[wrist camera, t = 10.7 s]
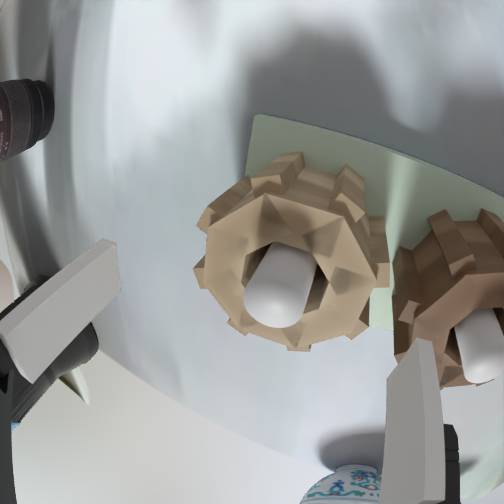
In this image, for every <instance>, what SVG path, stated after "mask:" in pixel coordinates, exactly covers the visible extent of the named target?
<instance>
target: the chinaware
mask: <svg viewBox="0 0 504 504" xmlns="http://www.w3.org/2000/svg"><path fill="white" fill-rule="evenodd" d="M380 486H381V477H380V476H379V475H377V470H376V469H375V468H373V467H370V466H366V465H356V464H355V465H345V466H341V467H339V468H337V469H336V471H335V473H333V474H330V475H328V476H326V477H324V478H323V479H321V480H320V481H318V482H317V483H316V484H315V485H313V486H312V487H311V488H310V489H309V490H308V492H307V493H306V494H305V496H304V497H303V499H302V500H301V502H300V504H378V501H379V494H380Z"/></svg>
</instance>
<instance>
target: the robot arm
mask: <svg viewBox="0 0 504 504" xmlns="http://www.w3.org/2000/svg"><path fill="white" fill-rule="evenodd" d="M120 292H121V286H120V277H119V269H118V259H117V249H116V243H115V242H112V241H110V240H107V239H104V238H103V239H102V240H100V241H99V242H98V243H96V244H95V245H94V246H92V247H91V248H89V249H88V250H87V251H85V252H84V253H83V254H81V255H80V256H79V257H77V258H76V259H75V260H73V261H72V262H71V263H69V264H68V265H67V266H65V267H64V268H63V269H62V270H60V271H59V272H58V273H57V274H55V275H54V276H53V277H51V278H50V279H49V278H47V277H45V276H37V277H36V278H35V279H33V280H32V281H31V282H29V283H28V284H27V285H26V287H25V289H24V291H23V293H22V295H21V296H20V297H18V298H17V299H16V300H15V301H14V303H11V304H10V305H9V306H8V307H7V308H5V309H4V310H3V311H2V312H1V313H0V504H17V501H16V494H15V487H14V476H13V464H12V446H11V445H12V444H11V443H12V442H11V431H12V430H13V429H14V428H15V427H16V426H18V425H19V424H20V423H21V420H22V419H23V418H24V417H25V415H26V414H27V413H28V412H29V411H30V409H31V408H32V407H33V406H34V405H35V404H36V402H37V401H38V400H39V399H40V397H42V395H43V394H44V393H45V392H46V391H47V389H48V388H49V387H50V386H51V385H52V384H53V382H54V381H55V380H56V379H57V378H58V377H60V376H61V375H63V374H65V373H67V372H69V371H71V370H73V369H74V368H76V367H78V366H80V365H81V364H84V363H86V362H88V361H89V360H90V359H91V358H92V357H93V356H94V355H95V354H96V352H97V351H98V341H97V337H96V334H95V332H94V330H93V328H92V326H91V324H90V322H91V321H92V320H93V319H94V318H95V317H96V316H97V315H98V314H99V312H100V311H101V310H102V309H103V308H104V307H105V306H106V305H107V304H108V303H109V302H110V301H112V300H113V299H114V298H115V297H116V296H117V295H118V294H119V293H120ZM458 450H459V448H458V437H457V434H456V432H455V429H454V427H453V425H449V424H443V415H442V405H441V396H440V388H439V381H438V374H437V367H436V361H435V355H434V350H433V344H432V341H428V340H424V339H420V338H416V339H415V341H414V342H413V344H412V345H411V346H410V348H409V349H408V351H407V352H406V354H405V355H404V357H403V358H402V359H401V361H400V362H399V363H398V365H397V366H396V368H395V369H394V370H393V372H392V373H391V374H390V376H389V377H388V378H387V399H386V428H385V444H384V457H383V468H382V477H381V486H380V494H379V501H378V504H461V503H460V467H459V463H458V461H459V452H458Z"/></svg>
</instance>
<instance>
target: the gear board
mask: <svg viewBox="0 0 504 504" xmlns="http://www.w3.org/2000/svg"><path fill="white" fill-rule="evenodd" d="M302 151H303V155H304V161H305V166H307V167H311V168H314V169H318V170H321V171H325V172H328V173H331V174H335V175H337V174H338V173H339V172H340V171H341V170H342V168H343V167H344V166H345V165H346V164H347V165H348V166H349V167H351V168H352V169H353V170H354V171H356V172H357V173H358V174H359V175H361V176H362V177H363V178H364V193H365V210H366V212H367V214H368V216H383V218H384V224H385V230H386V237H387V244H388V251H389V258H390V287H388V288H373V290H372V292H371V294H370V310H369V325H373V326H376V327H379V328H383V329H386V330H390V331H393V311H392V297H391V296H393V295H395V294H396V293H395V283H394V275H393V267H392V262H393V260H394V258H395V255H396V253H397V251H398V248H399V246H401V247H403V248H406V249H409V250H413V249H414V248H415V247H416V246H417V245H418V244H419V243H420V242H421V241H422V240H423V239H424V238H425V237H426V236H427V235H428V234H429V233H430V231H431V230H432V228H431V226H430V223H429V221H428V218H427V217H429V216H431V215H434V214H436V213H438V212H440V211H442V210H444V209H446V211H447V212H448V214H449V215H450V217H451V218H452V220H453V221H476V220H477V218H478V215H479V213H480V210H481V208H483V209H485V210H487V211H489V212H491V213H493V214H495V215H497V216H498V217H499V218H500V219H501V220H502V221H503V223H504V197H502V196H500V195H498V194H496V193H494V192H492V191H490V190H488V189H486V188H484V187H482V186H480V185H478V184H476V183H474V182H472V181H470V180H467V179H465V178H463V177H461V176H459V175H456V174H454V173H452V172H449V171H447V170H445V169H442V168H440V167H438V166H435V165H433V164H430V163H428V162H425V161H423V160H420V159H417V158H415V157H412V156H409V155H407V154H404V153H401V152H398V151H396V150H393V149H390V148H387V147H384V146H381V145H378V144H375V143H372V142H369V141H366V140H363V139H359V138H356V137H353V136H349V135H346V134H343V133H339V132H335V131H332V130H328V129H324V128H321V127H317V126H313V125H309V124H305V123H301V122H296V121H292V120H288V119H283V118H279V117H274V116H269V115H264V114H260V115H255V116H254V119H253V125H252V131H251V137H250V143H249V149H248V155H247V162H246V168H245V174H244V177H246V176H247V175H248V176H249V177H251V178H252V177H253V176H254V175H255V174H257V173H258V172H259V171H260V170H262V169H263V168H264V167H266V166H267V165H268V164H269V163H271V162H272V161H273V160H274V159H276V158H277V157H278V156H280V155H281V154H286V153H294V152H302ZM317 264H318V262H317V261H316V259H315V258H314V256H313V254H312V253H311V252H308V251H305V250H302V249H299V248H296V247H293V246H289V245H286V244H283V243H280V242H277V241H274V242H273V243H272V244H271V246H270V248H269V249H268V251H267V253H266V254H265V256H264V258H263V259H262V261H261V263H260V264H259V266H258V268H257V269H256V271H255V273H254V274H253V276H252V278H251V280H250V281H249V283H248V285H247V286H246V288H245V290H244V293H243V303H244V306H245V308H246V310H247V311H248V313H249V314H250V315H251V316H252V317H253V318H254V319H255V320H257V321H258V322H260V323H262V324H264V325H266V326H269V327H274V328H284V327H289V326H292V325H294V324H295V323H297V322H298V321H299V320H300V318H301V317H302V315H303V312H304V309H305V305H306V302H307V299H308V295H309V292H310V289H311V285H312V282H313V278H314V275H315V271H316V268H317ZM454 329H455V333H456V338H457V342H458V346H459V351H460V355H461V360H462V365H463V370H464V376H465V378H466V380H467V381H469V382H471V383H484V382H487V381H490V380H492V379H494V378H496V377H497V376H499V375H500V374H501V373H502V372H503V371H504V336H503V333H502V330H501V328H500V325H499V323H498V320H497V318H496V315H495V313H494V310H493V308H486V309H475V310H473V311H472V312H471V313H470V314H469V315H467V316H466V317H465V318H464V319H462V320H461V321H460V322H459V323H457V324H456V325H455V326H454ZM393 332H394V331H393Z"/></svg>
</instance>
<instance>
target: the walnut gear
mask: <svg viewBox="0 0 504 504" xmlns="http://www.w3.org/2000/svg"><path fill="white" fill-rule="evenodd" d="M427 218H428V221H429V223H430V226H431V228H432V230H431V231H430V233H429V234H428V235H427V236H426V237H425V238H424V239H423V240H422V241H421V242H420V243H419V244H418V245H417V246H416V247H415V248H414V249H413V250H409V249H406V248H403V247H401V246H399V248H398V251H397V253H396V255H395V258H394V260H393V262H392V267H393V275H394V283H395V293H396V294H395V295H393V296H391V297H392V311H393V331H394V356H395V358H396V360H397V363H399V362H400V361H401V359H402V358H403V357H404V355H405V354H406V352H407V351H408V349H409V348H410V346H411V345H412V344H413V342H414V341H415V339H416V338H420V339H424V340H428V341H432V344H433V350H434V355H435V361H436V367H437V374H438V381H439V388H440V390H442V389H443V388H444V387H453V386H463V385H472V384H476V386H479V385H482V384H484V383H487V382H489V381H487V382H484V383H471V382H469V381H467V380H466V378H465V376H464V370H463V365H462V360H461V355H460V351H459V346H458V342H457V338H456V333H455V329H454V326H455V325H456V324H457V323H459V322H460V321H461V320H462V319H464V318H465V317H466V316H467V315H469V314H470V313H471V312H472V311H473V310H475V309H486V308H493V310H494V313H495V315H496V318H497V320H498V323H499V325H500V328H501V330H502V333H503V336H504V223H503V221H502V220H501V219H500V218H499V217H498V216H497V215H495V214H493V213H491V212H489V211H487V210H485V209H483V208H481V210H480V213H479V215H478V218H477V220H476V221H453V220H452V218H451V217H450V215H449V214H448V212H447V211H446V209H444V210H442V211H440V212H438V213H436V214H434V215H431V216H429V217H427ZM492 380H494V379H492ZM492 380H490V381H492Z"/></svg>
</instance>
